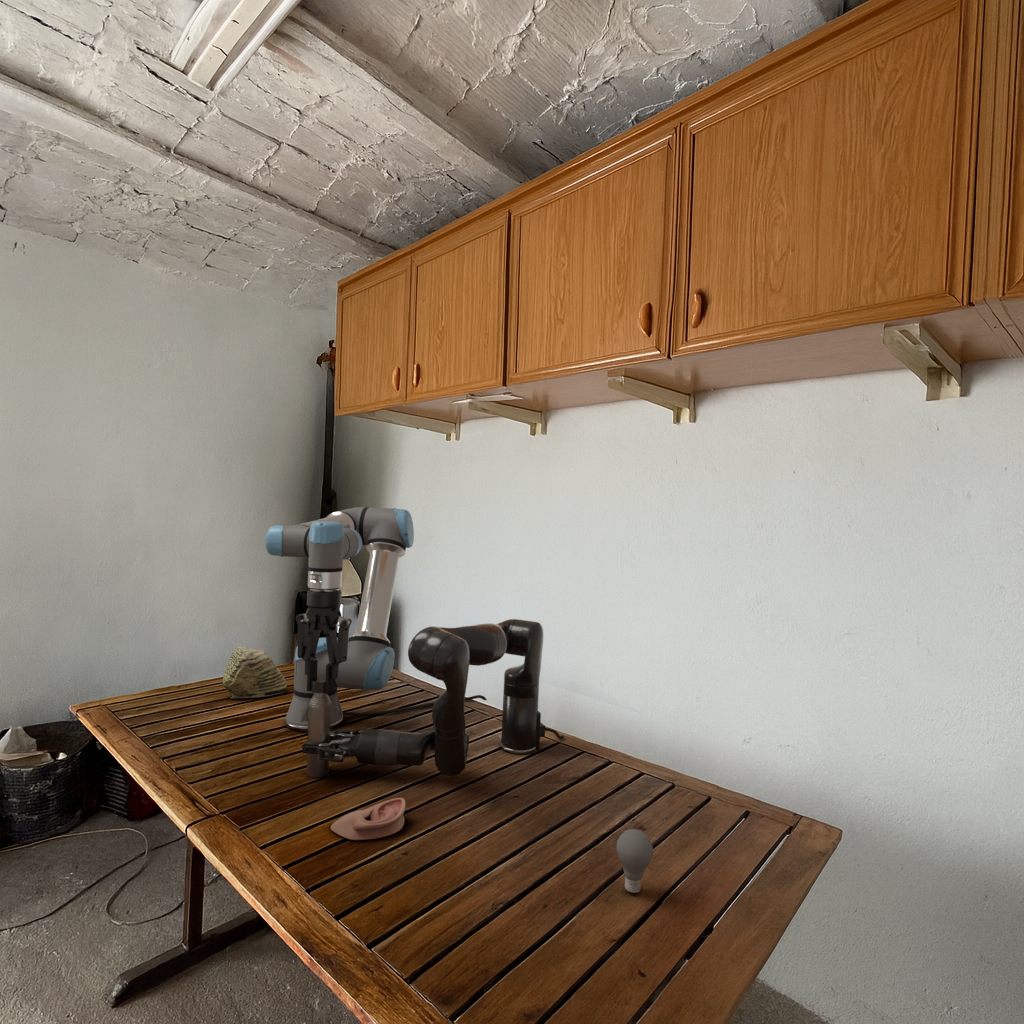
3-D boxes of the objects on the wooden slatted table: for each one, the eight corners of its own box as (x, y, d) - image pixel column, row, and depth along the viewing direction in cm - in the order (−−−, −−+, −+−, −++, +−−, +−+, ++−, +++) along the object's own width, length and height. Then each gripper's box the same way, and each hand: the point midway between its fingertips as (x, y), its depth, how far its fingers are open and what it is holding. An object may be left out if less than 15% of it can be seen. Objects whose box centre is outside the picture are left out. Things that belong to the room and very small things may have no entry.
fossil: (218, 695, 195) (220, 647, 195) (278, 685, 208) (279, 640, 207) (228, 703, 189) (230, 653, 188) (289, 692, 201) (290, 645, 201)
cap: (311, 688, 146) (312, 677, 146) (330, 687, 147) (331, 677, 147) (310, 693, 142) (310, 682, 142) (329, 693, 143) (330, 682, 143)
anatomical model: (323, 814, 118) (350, 787, 130) (322, 835, 118) (350, 806, 130) (389, 824, 116) (412, 796, 127) (389, 846, 116) (411, 816, 127)
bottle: (302, 776, 143) (306, 684, 143) (312, 767, 148) (315, 679, 148) (323, 778, 142) (326, 686, 142) (332, 769, 147) (335, 680, 147)
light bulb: (610, 879, 108) (613, 822, 108) (644, 879, 109) (647, 822, 109) (619, 902, 102) (622, 840, 102) (655, 901, 103) (658, 840, 103)
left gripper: (282, 588, 143) (278, 690, 144) (348, 594, 138) (344, 700, 139) (302, 584, 151) (299, 681, 151) (366, 590, 145) (362, 691, 146)
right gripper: (388, 720, 152) (318, 716, 152) (373, 742, 137) (296, 738, 138) (387, 751, 152) (316, 747, 152) (372, 777, 138) (294, 772, 138)
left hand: (320, 690), depth 145 cm, fingers closed on cap, 4 cm apart
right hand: (307, 743), depth 145 cm, fingers closed on bottle, 5 cm apart
